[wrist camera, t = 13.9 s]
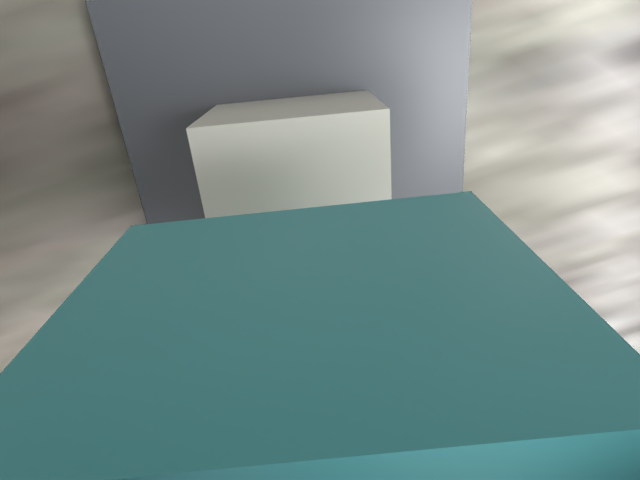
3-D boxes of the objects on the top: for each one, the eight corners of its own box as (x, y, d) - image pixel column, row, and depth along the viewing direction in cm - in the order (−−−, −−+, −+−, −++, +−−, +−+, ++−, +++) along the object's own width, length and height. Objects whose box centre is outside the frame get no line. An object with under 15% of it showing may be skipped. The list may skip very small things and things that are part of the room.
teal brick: (456, 432, 10) (577, 748, 6) (203, 456, 10) (124, 787, 6) (470, 190, 8) (709, 422, 3) (131, 225, 8) (-112, 501, 3)
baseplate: (448, 280, 23) (457, 295, 21) (182, 305, 23) (174, 322, 22) (460, -32, 17) (474, -38, 16) (103, 4, 17) (85, 1, 16)
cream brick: (373, 228, 20) (393, 285, 15) (241, 241, 20) (222, 300, 15) (367, 90, 17) (389, 108, 13) (216, 104, 17) (186, 128, 13)
